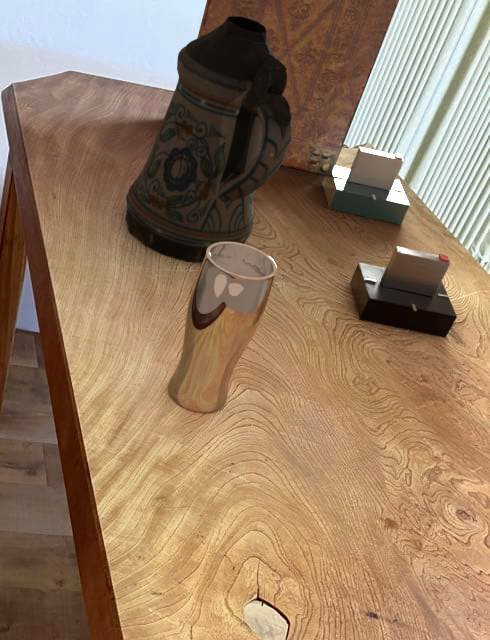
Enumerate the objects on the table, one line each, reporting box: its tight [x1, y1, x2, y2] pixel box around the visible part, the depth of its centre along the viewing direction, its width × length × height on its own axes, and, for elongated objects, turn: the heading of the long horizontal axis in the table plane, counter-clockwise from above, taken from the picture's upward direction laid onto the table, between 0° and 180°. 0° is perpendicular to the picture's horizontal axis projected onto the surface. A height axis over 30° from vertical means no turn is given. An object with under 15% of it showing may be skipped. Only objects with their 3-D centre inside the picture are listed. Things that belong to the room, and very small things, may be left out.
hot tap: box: [381, 245, 451, 297], centre depth 108 cm, size 6×2×5 cm, turn 85°
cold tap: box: [347, 146, 405, 191], centre depth 130 cm, size 6×2×5 cm, turn 86°
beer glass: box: [167, 241, 278, 414], centre depth 85 cm, size 7×7×15 cm
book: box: [197, 0, 400, 176], centre depth 131 cm, size 25×9×30 cm, turn 82°
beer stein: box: [125, 16, 292, 264], centre depth 107 cm, size 16×19×25 cm
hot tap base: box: [349, 262, 458, 339], centre depth 110 cm, size 11×11×3 cm
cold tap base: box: [321, 165, 411, 225], centre depth 133 cm, size 11×11×3 cm
